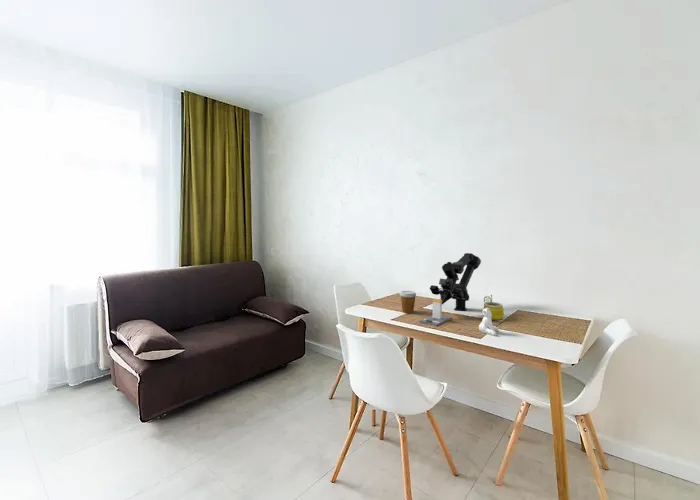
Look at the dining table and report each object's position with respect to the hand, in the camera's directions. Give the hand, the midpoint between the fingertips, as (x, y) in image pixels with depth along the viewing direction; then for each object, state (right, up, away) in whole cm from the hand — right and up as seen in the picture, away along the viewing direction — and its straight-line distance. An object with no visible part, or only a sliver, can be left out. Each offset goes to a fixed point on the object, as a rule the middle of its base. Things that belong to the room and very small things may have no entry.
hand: (441, 304), depth 189 cm
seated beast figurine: (+17, -10, -23) cm, 30 cm away
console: (-4, -8, -4) cm, 10 cm away
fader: (-3, -7, -3) cm, 8 cm away
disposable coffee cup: (-16, -7, +14) cm, 23 cm away
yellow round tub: (+29, -8, +2) cm, 30 cm away
